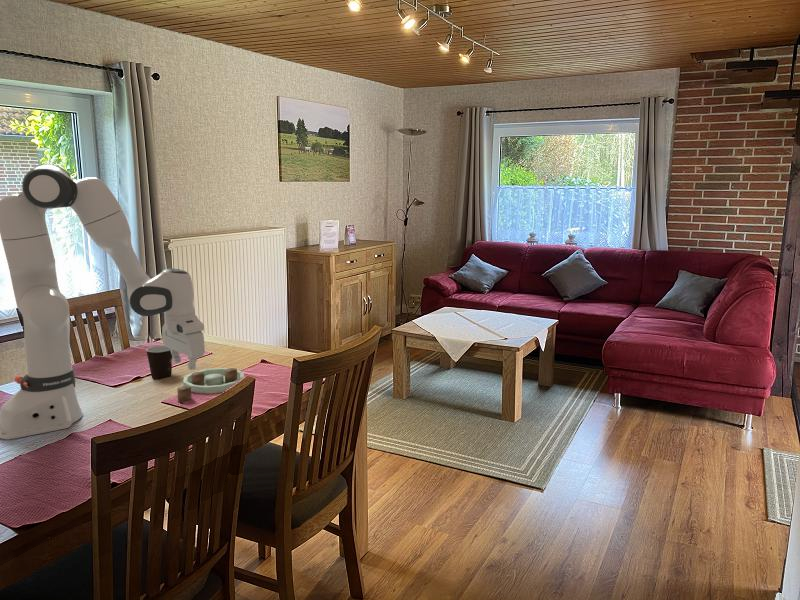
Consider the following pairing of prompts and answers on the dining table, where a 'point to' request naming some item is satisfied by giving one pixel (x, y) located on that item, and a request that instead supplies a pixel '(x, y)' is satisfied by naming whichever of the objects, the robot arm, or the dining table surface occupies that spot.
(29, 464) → the dining table surface
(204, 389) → the tray
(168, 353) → the coffee mug
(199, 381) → the bead
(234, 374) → the bead
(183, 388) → the bead
